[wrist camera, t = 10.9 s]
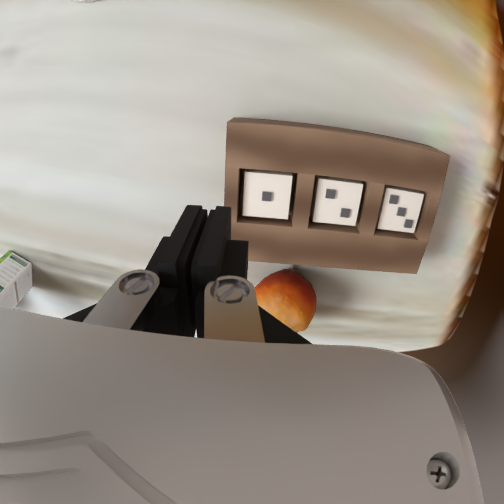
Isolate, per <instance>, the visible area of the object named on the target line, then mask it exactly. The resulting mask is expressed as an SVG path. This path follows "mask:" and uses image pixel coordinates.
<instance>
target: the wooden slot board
mask: <svg viewBox="0 0 504 504" xmlns="http://www.w3.org/2000/svg"><path fill="white" fill-rule="evenodd" d="M449 157H450V155H448V154H445V153H443V152H441V151H439V150H437V149H435V148H433V147H431V146H428V145H424V144H420V143H416V142H412V141H407V140H403V139H398V138H394V137H389V136H384V135H379V134H373V133H368V132H362V131H356V130H350V129H344V128H337V127H330V126H323V125H315V124H307V123H298V122H288V121H278V120H265V119H250V118H233V119H231V120H230V121H228V122H227V137H226V163H225V196H224V206H225V207H231V240H245V241H249V249H248V261H258V262H270V263H282V264H294V265H306V266H319V267H331V268H344V269H357V270H370V271H383V272H396V273H410V274H417V272H418V269H419V266H420V263H421V260H422V257H423V254H424V251H425V248H426V245H427V242H428V239H429V236H430V232H431V229H432V226H433V222H434V219H435V215H436V212H437V208H438V204H439V201H440V197H441V193H442V189H443V184H444V180H445V176H446V171H447V167H448V162H449ZM246 169H258V170H270V171H282V172H292V186H291V195H290V204H289V213H288V219H277V218H266V217H253V216H242V214H243V194H244V175H245V170H246ZM316 175H320V176H329V177H337V178H345V179H352V180H359V181H361V182H362V183H363V189H362V195H361V200H360V205H359V210H358V215H357V220H356V224H355V226H349V225H340V224H330V223H320V222H312V218H311V207H312V200H313V192H314V185H315V177H316ZM385 184H386V185H392V186H398V187H404V188H410V189H415V190H419V191H421V192H422V193H423V194H424V197H423V201H422V205H421V209H420V213H419V217H418V220H417V224H416V227H415V231H414V233H409V232H401V231H392V230H384V229H377V227H376V223H377V219H378V214H379V210H380V205H381V201H382V196H383V191H384V186H385Z"/></svg>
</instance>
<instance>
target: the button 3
mask: <svg viewBox="0 0 504 504" xmlns="http://www.w3.org/2000/svg"><path fill="white" fill-rule="evenodd" d="M423 197H424V194H423V193H422V192H421V191H419V190H415V189H410V188H404V187H398V186H392V185H386V184H385V186H384V191H383V196H382V201H381V205H380V210H379V214H378V219H377V223H376V227H377V229H384V230H392V231H401V232H409V233H414V231H415V227H416V224H417V220H418V217H419V213H420V209H421V205H422V201H423Z"/></svg>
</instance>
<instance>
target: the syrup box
mask: <svg viewBox="0 0 504 504" xmlns="http://www.w3.org/2000/svg"><path fill="white" fill-rule="evenodd" d="M31 288H32V263H31V262H28V261H26V260H25V259H23V258H21V257H20V256H18V255H16V254H15V253H13V252H12V251H8V252H7V253H6V254H5V255H4V256H3V257H1V258H0V306H2V307H7V308H12V309H14V308H15V307H16V305H17V304H18V303H19V302H20V301H21V300H22V298H23V297H24V296H25V295H26V294H27V293H28V291H29V290H30V289H31Z"/></svg>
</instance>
